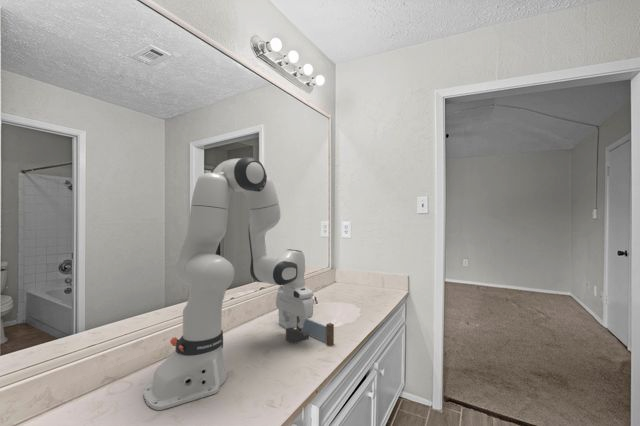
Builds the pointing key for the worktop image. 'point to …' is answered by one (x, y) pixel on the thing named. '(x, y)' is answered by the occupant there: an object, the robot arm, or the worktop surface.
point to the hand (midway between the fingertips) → (292, 324)
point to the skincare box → (290, 323)
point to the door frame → (328, 332)
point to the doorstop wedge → (295, 335)
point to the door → (314, 329)
